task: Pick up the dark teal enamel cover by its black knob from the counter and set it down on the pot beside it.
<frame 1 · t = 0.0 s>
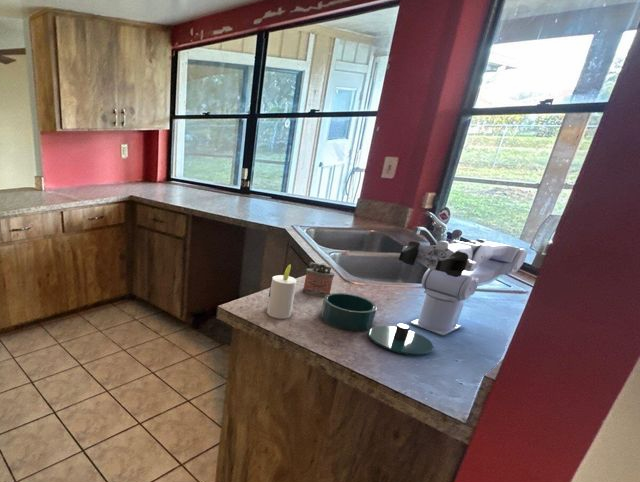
hand: (419, 260, 90), 22 cm above the counter, tool horizontal, fingers open, 7 cm apart
brick planter box: (315, 294, 128), on the counter
pot: (345, 320, 111), on the counter
cover: (399, 340, 99), point 1 cm above the counter
candle: (278, 314, 114), on the counter
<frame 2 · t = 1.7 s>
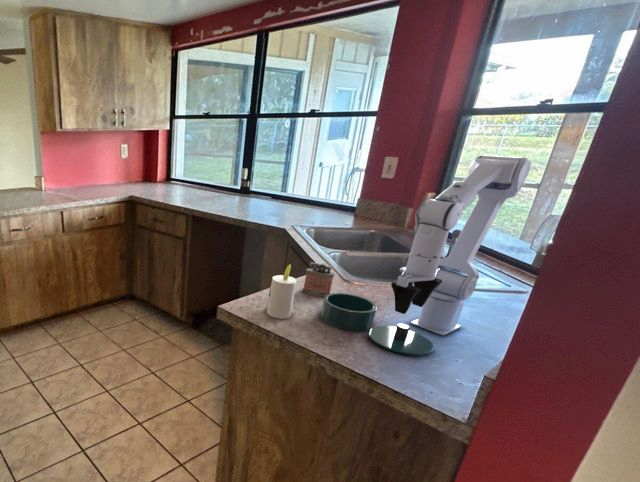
hand: (408, 308, 96), 9 cm above the counter, tool pointing down, fingers open, 7 cm apart
nothing on the counter moved.
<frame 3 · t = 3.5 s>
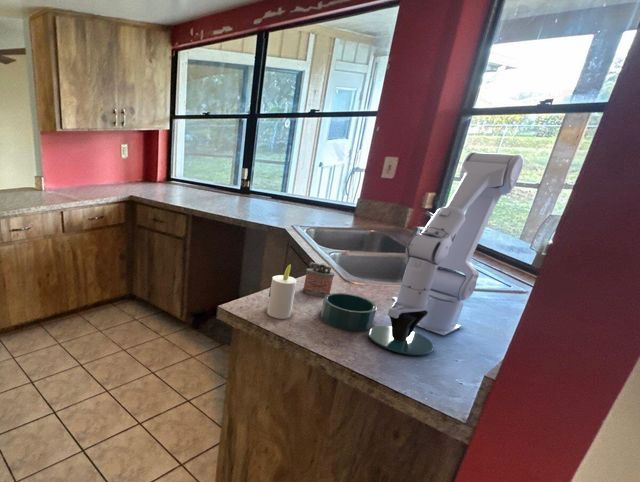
hand: (400, 336, 99), 2 cm above the counter, tool pointing down, fingers closed on cover, 2 cm apart
cover: (399, 340, 99), point 1 cm above the counter, touching gripper
everything else where it was.
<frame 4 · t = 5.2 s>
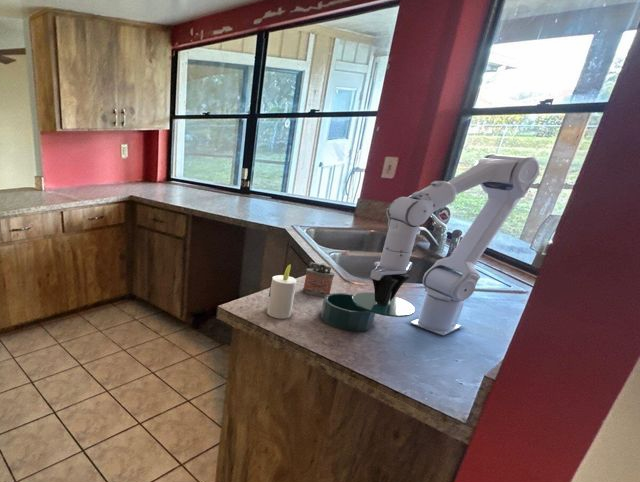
hand: (383, 301, 101), 9 cm above the counter, tool pointing down, fingers closed on cover, 2 cm apart
cover: (382, 304, 101), point 8 cm above the counter, touching gripper
everything else where it was.
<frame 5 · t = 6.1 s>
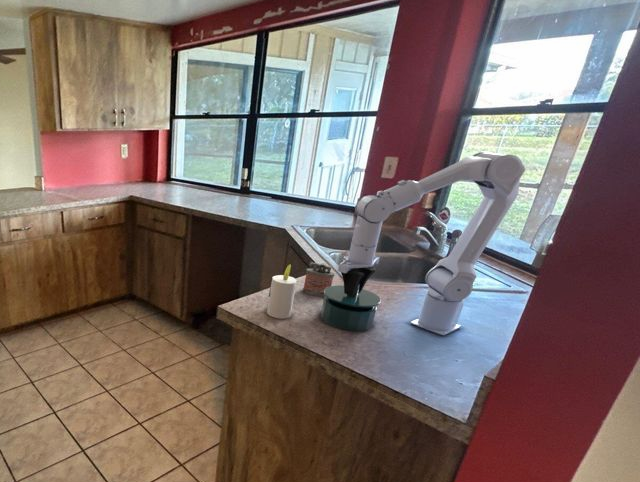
hand: (352, 293, 108), 8 cm above the counter, tool pointing down, fingers closed on cover, 2 cm apart
cover: (351, 296, 108), point 7 cm above the counter, touching gripper
everything else where it was.
when the fingers open (6 cm above the counter, at t = 6.9 s): cover stays where it is, resting on pot.
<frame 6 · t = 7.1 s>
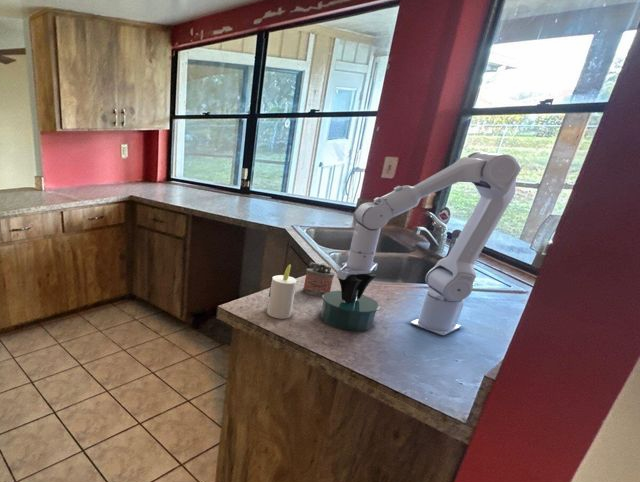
hand: (350, 299, 108), 6 cm above the counter, tool pointing down, fingers open, 4 cm apart
cover: (350, 302, 109), point 5 cm above the counter, touching pot
everything else where it was.
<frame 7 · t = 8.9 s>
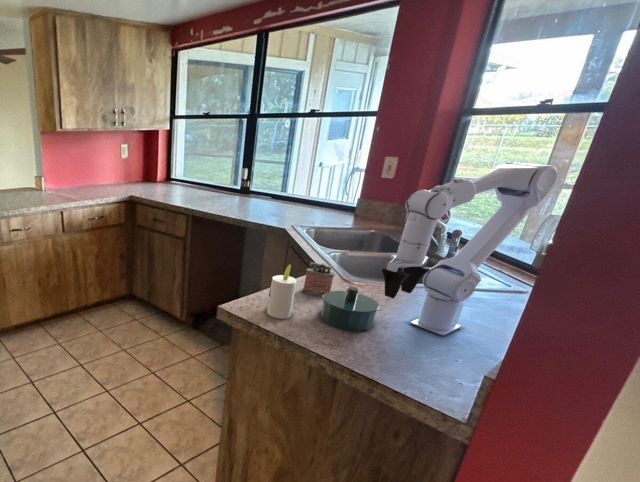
hand: (397, 294, 101), 10 cm above the counter, tool pointing down, fingers open, 7 cm apart
nothing on the counter moved.
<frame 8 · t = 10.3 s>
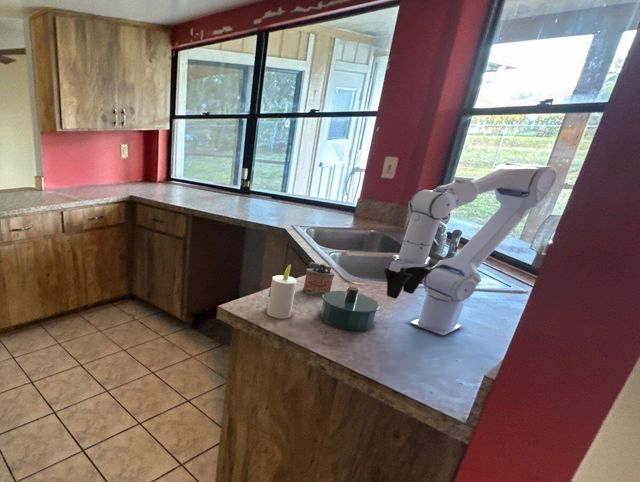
hand: (399, 294, 101), 10 cm above the counter, tool pointing down, fingers open, 7 cm apart
nothing on the counter moved.
at the end: cover 0.0 cm off-centre on the pot, point 5.4 cm above the pot's base; cover tilted 0° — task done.
